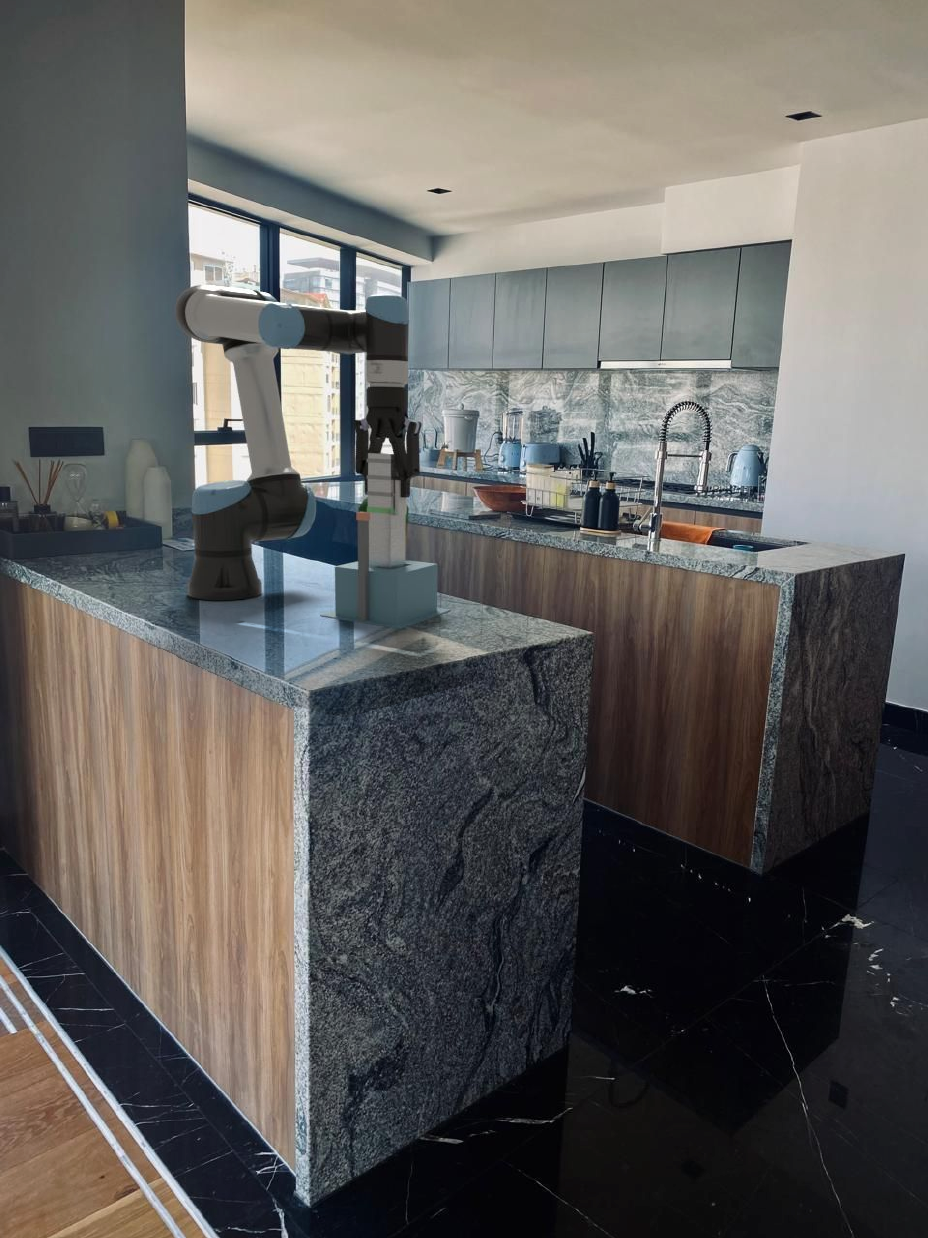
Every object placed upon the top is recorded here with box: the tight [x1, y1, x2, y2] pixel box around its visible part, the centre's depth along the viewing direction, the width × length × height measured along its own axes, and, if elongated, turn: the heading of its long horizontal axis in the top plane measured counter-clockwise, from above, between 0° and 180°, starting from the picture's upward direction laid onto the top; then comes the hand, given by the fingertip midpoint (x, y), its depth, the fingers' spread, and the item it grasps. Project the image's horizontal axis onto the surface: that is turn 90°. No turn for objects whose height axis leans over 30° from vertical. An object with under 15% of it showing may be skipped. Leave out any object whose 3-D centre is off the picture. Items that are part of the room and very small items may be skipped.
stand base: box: [320, 511, 452, 630], centre depth 166 cm, size 18×18×21 cm
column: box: [366, 451, 407, 570], centre depth 164 cm, size 5×5×22 cm
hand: (387, 513), depth 164 cm, fingers closed on column, 5 cm apart
